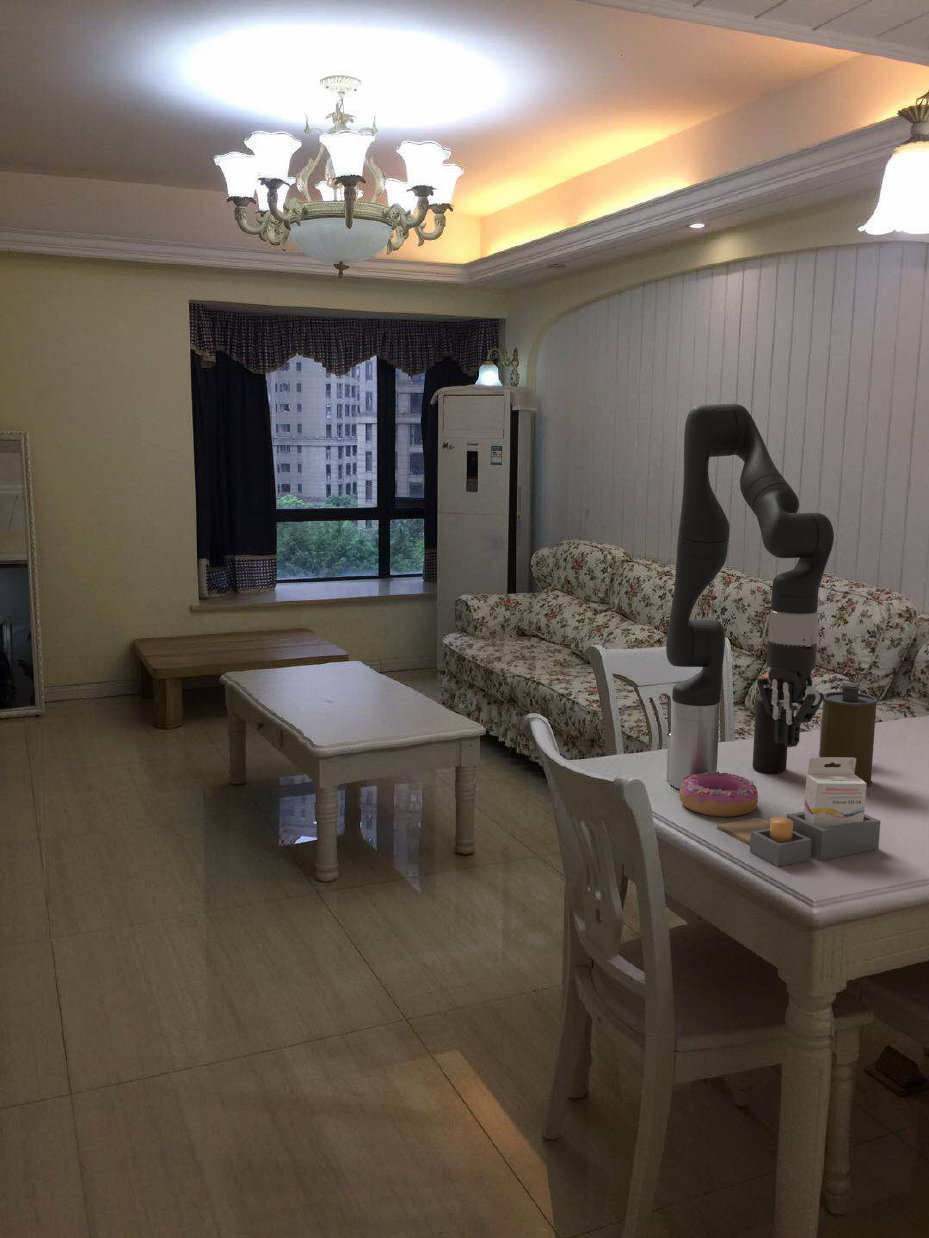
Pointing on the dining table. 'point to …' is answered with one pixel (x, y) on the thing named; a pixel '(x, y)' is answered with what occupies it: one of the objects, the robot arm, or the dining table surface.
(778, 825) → the egg
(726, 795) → the donut
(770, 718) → the black water bottle
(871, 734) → the canister
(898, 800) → the dining table surface
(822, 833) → the gray open bin
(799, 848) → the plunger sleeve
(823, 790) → the ink cartridge box
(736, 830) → the walnut pad
